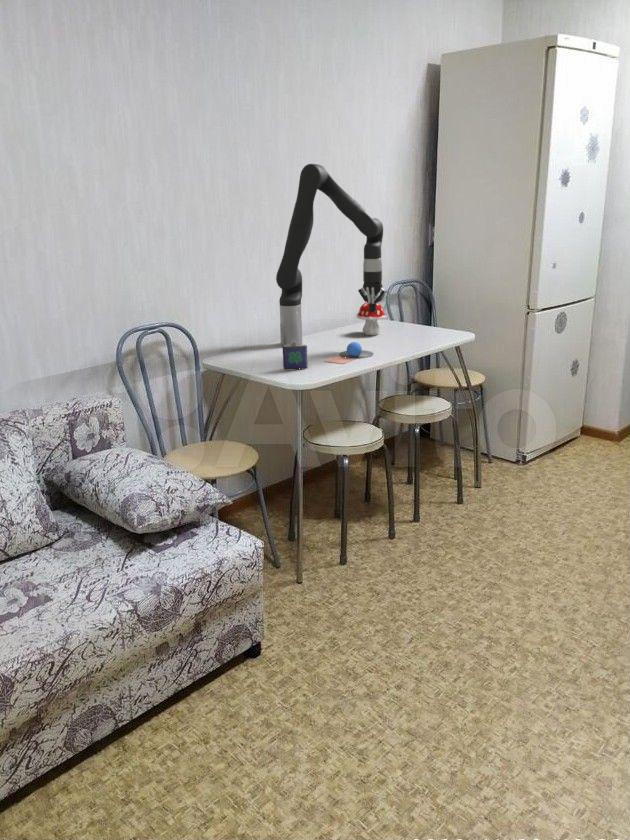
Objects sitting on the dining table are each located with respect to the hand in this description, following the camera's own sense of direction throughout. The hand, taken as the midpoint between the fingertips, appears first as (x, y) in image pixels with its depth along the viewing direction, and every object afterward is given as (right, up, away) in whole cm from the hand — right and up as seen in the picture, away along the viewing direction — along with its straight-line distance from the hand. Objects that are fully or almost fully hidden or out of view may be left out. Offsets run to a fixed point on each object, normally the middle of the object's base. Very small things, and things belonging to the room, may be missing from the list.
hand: (372, 312), depth 293 cm
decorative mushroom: (+2, -5, +34) cm, 34 cm away
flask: (-31, -25, -25) cm, 47 cm away
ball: (-8, -16, -11) cm, 21 cm away
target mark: (-7, -18, -5) cm, 20 cm away
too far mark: (-14, -21, -15) cm, 29 cm away
